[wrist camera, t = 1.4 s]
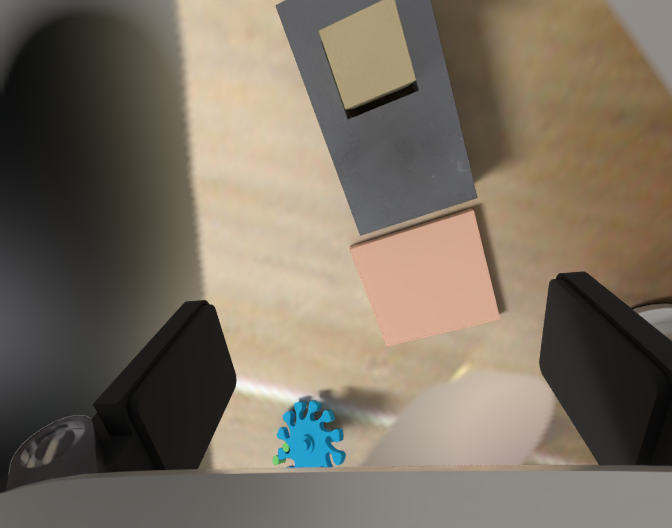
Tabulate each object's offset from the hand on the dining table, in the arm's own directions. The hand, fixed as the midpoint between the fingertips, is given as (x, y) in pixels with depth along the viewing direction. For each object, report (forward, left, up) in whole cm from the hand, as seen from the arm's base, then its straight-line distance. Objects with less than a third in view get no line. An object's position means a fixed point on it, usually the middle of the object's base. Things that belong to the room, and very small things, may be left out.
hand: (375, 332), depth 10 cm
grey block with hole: (-2, -5, -25) cm, 26 cm away
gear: (+18, +27, -25) cm, 41 cm away
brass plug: (-2, -8, -25) cm, 27 cm away
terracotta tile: (-1, +12, -25) cm, 28 cm away
